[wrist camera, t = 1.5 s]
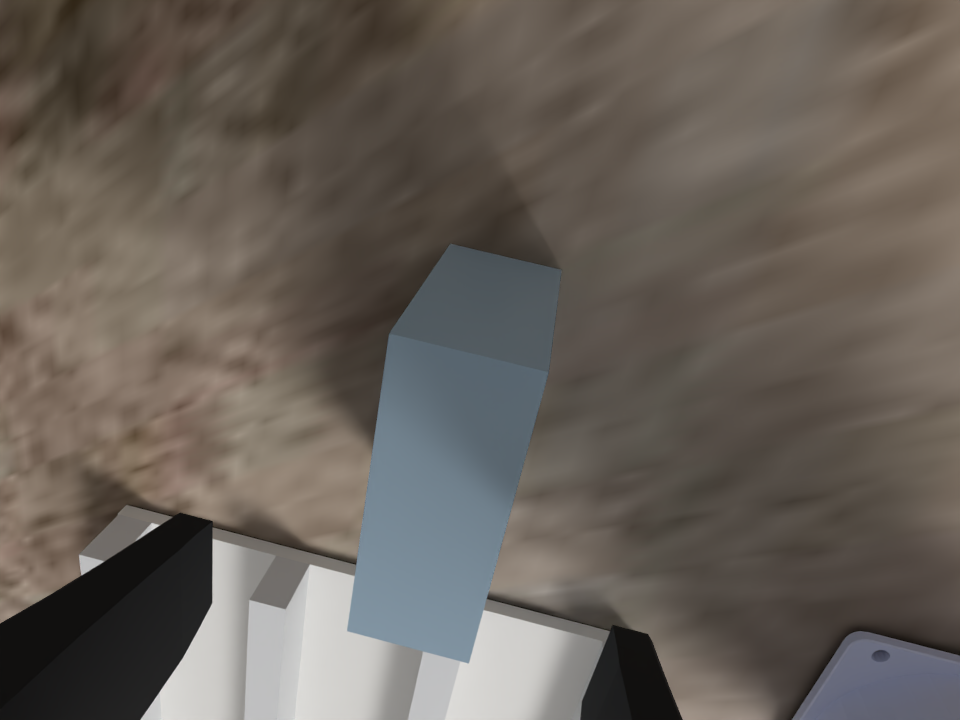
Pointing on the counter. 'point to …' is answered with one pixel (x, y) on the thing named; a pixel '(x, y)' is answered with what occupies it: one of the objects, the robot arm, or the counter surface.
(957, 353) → the counter surface
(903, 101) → the counter surface
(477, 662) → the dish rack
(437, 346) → the blue block
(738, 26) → the counter surface
